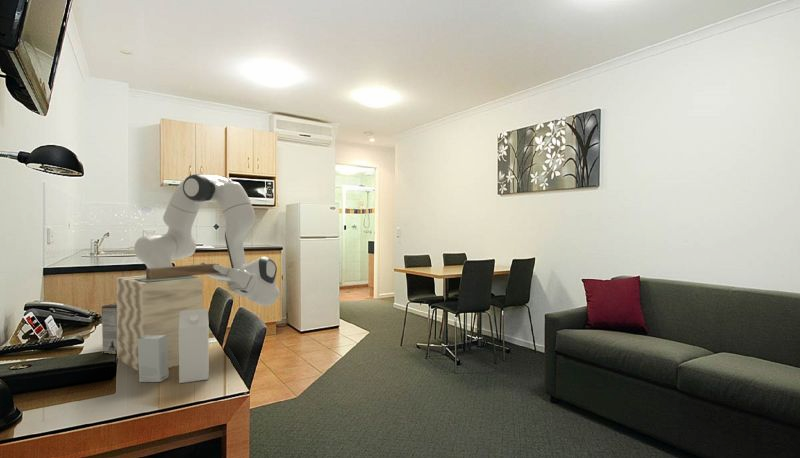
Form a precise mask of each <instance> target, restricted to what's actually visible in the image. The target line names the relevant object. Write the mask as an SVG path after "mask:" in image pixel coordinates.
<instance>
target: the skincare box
mask: <svg viewBox="0 0 800 458" xmlns="http://www.w3.org/2000/svg"><path fill="white" fill-rule="evenodd" d="M137 341H138V360H139V371H138V377H139V378H138V379H139V383H161V382H163V381H165V380H167V379H168V378H169V376H170V375H169V368H168V348H167V335H146V336H143V337H141V338H139V339H138V340H137Z"/></svg>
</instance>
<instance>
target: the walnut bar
mask: <svg viewBox="0 0 800 458" xmlns="http://www.w3.org/2000/svg"><path fill="white" fill-rule="evenodd" d="M214 264H215V263H205V264H201V265H200V264H191V265H178V266H177V265H176V266H175V265H173V267H161V268H146V269H145V275H146V278H147V279H162V278H172V277H182V276H202V275H203V276H204V275H205V274H214V273H219V271H216V270H214V269H212V267H213V265H214ZM217 264H218V265H220V264H219V263H217Z"/></svg>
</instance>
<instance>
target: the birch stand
mask: <svg viewBox="0 0 800 458" xmlns="http://www.w3.org/2000/svg"><path fill="white" fill-rule="evenodd" d="M115 285H116V303H117V355H116V359H117V358H118V359H117V360H119V361H120V362H122V363H123V364H126V365H127V366H129V367H131V368H132V369H134V370H136V371H137V372H139V360H138V341H137V340H138V339H139V338H141V337H143V336H146V335H167V348H168V369H169V368H173V366H174V367H179V318H180V311H186V310H200V309H203V304H204V303H203V301H204V300H203V277H199V276H196V275H193V276H182V277H172V278H162V279H147V278H146V274H145V275H144V274H143V275H131V276H120V277H116V284H115Z"/></svg>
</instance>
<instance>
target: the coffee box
mask: <svg viewBox="0 0 800 458" xmlns="http://www.w3.org/2000/svg"><path fill="white" fill-rule="evenodd" d="M101 326H102V327H101V328H102V329H101V331H102V352H103V351H111V350H116V351H117V302H115V303H112V304H106V305H102V306H101Z"/></svg>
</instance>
